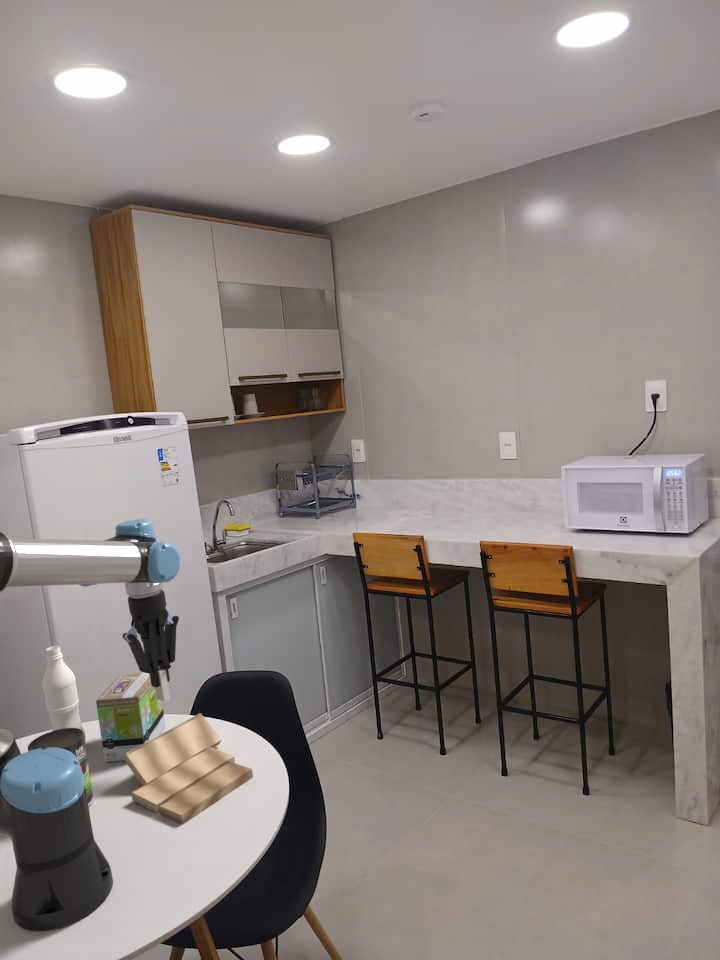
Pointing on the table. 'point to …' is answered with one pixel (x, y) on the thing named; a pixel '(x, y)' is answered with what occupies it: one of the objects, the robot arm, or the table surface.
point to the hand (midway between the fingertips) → (163, 698)
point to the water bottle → (61, 692)
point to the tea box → (129, 715)
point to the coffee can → (71, 742)
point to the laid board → (205, 792)
